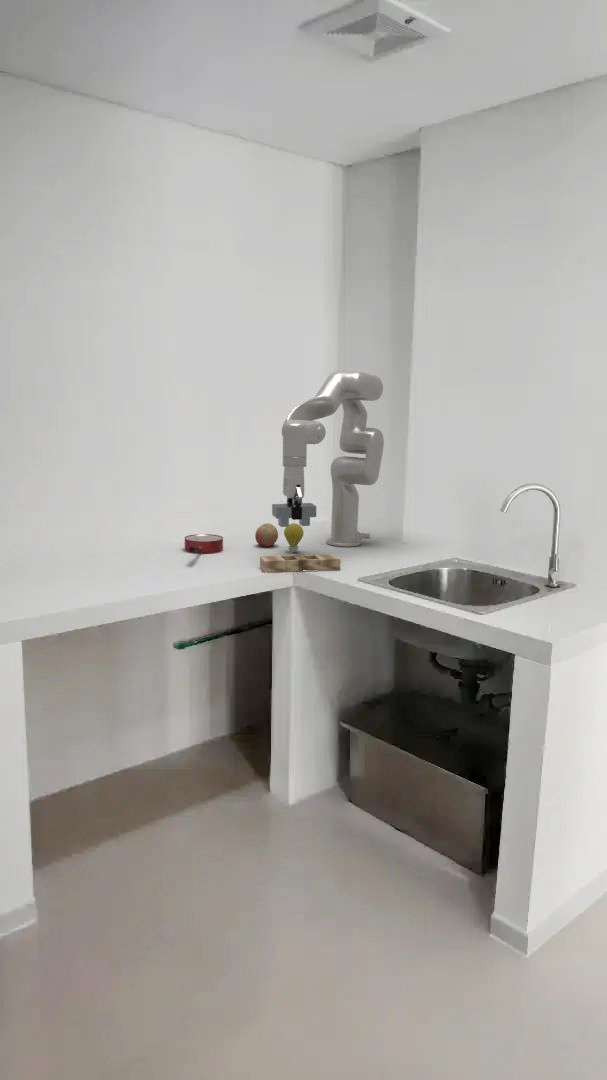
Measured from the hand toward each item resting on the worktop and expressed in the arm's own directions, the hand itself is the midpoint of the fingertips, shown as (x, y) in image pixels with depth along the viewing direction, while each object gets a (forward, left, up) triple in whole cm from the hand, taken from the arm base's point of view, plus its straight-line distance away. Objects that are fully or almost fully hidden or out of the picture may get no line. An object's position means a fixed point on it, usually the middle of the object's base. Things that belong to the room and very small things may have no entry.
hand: (294, 516), depth 255 cm
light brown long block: (+1, +11, -15) cm, 18 cm away
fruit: (+4, -24, -15) cm, 29 cm away
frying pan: (+28, -12, -15) cm, 34 cm away
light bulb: (-3, -13, -15) cm, 20 cm away
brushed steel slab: (0, 0, -3) cm, 3 cm away
